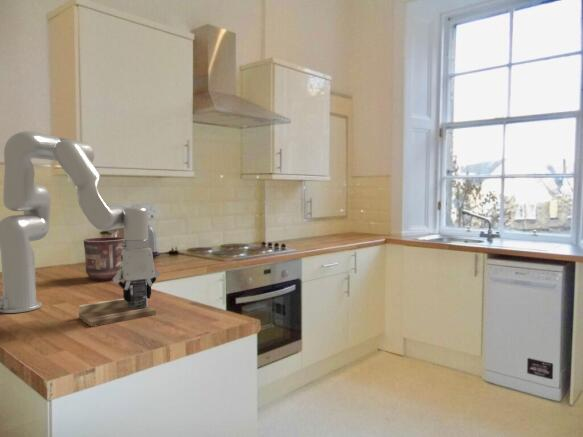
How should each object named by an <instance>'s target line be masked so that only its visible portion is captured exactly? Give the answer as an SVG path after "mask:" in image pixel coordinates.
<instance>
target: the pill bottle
mask: <svg viewBox="0 0 583 437" xmlns="http://www.w3.org/2000/svg"><path fill="white" fill-rule="evenodd" d="M129 290H130V302H128V307H129V308H133V309H137V308H143V307H146V306H148V298H147V281H146V279H145V280H137V281H131V282H130V285H129Z"/></svg>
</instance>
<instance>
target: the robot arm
mask: <svg viewBox="0 0 583 437" xmlns="http://www.w3.org/2000/svg"><path fill="white" fill-rule="evenodd" d="M3 150H4V151H3V159H4V176H3V194H2V196H3V197H2V198H3V199H2V200H3V205H4V207H5V208H6V209H7V210H10V211H13V212H23V214H15V215H10V216H6V217H4V218H2V219H1V220H0V259H1V260H0V261H1V262H0V264H1V274H2V276H1V277H2V278H1V281H2V295H1V296H0V313H2V314H17V313H25V312H30V311H34V310H37V309H39V308H41V307H42V306H43V304H42V302H41V301H39V300H37V287H36V286H37V285H36V284H37V283H36V265H35V264H36V263H35V262H36V261H35V254H34V250H33V248H32V246H31V243H30V242H34V241H35V242H36V241H40V240H42V239H43V238H45V237H46V236H47V235H48V232H49V229H50V219H51V218H50V217H51V204H52V203H51V194H50V192H49V190H48V189H47V188H46V186H44V185H42V184H41V183H36V182H35V168H34V165H33V163H32V159H37V160H47V161H48V160H49V161H54V162H58V164H59V165H60V167H61V168H62V170H63V171H64V173H65V174H66V175H67V177H68V178H69V180H70V182H72V184H73V186H74V187H75V189H76V198H77V202H78V205H79V207H80V210H81V211H82V213H83V214H84V216H85V217H86V218H87V220H88V222H89V223H90V224H91V225H92V226H93V227H94V228H95V229H96V230H98V231H99V230H100V231H103V232H104V231H105V232H106V231H112V230H118V229H119V230H120V229H123V237H124V240H123V242H122V243H120V247H124V249H123V250H122V254H121V261H120V271H119V272H118V273H117V274H116V275H115V277H114V278H113V280H112V281H113V282H114V283H116V284H117V285H118V286H119V287H120V288H121V289H122V290H123V292H122V293H123V295H122V297H123V298H124V299H125V301H127V302H130V290H129V285H130V282H131V281H137V280H145V279H146V281H147V300H149V299H151V295H152V286H153V285H154V283H155V282H156V281H157V279H158V278H159V277H160V276H161V273H160V272H159V271H158V270H157V269H156V268H155V261H154V254H153V252H152V251H153V250H152V248H151V247H149V212H148V209H147V208H146V207H143V206H128V207H127V206H121V205H113V206H112V205H109V206H107V204H106V203H105V201H104V200H103V199H102V197H101V195H100V194H99V191H98V184H99V182H100V181H101V178H102V177H101V174H100V172H99V171H98V170H97V168H96V167H95V165H94V164H93V162H94V160H95V152H94V150H93V148H92V146H91V145H90V144H88V143H87V142H85V141H81V140H74V139H70V138H65V137H62V136H61V137H60V136H56V135H52V134H47V133H42V132H38V131H37V132H36V131H20V132H17V133H15V134H13V135H12V136H10V137H9V138H8V139H7V141H6V143H5V144H4V149H3ZM120 279H121V280H120ZM122 280H123V281H122Z"/></svg>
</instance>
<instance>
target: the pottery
mask: <svg viewBox="0 0 583 437" xmlns="http://www.w3.org/2000/svg"><path fill="white" fill-rule="evenodd" d="M123 240H124V236H106V237H105V236H103V237H93V238H92V237H91V238H85V239H83V247H84V257H85V259H84V260H85V262H84V263H85V264H84V265H85V273H86V275H87V276H88V278H89V279H90V280H92V281H94V282H108V281H109V282H110V281H113V278H114V277H115V275H116V274H117V273H118V272H119V271H120V261H121V254H122V250H123V249H124V247H120V243H122V242H123Z"/></svg>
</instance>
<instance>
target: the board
mask: <svg viewBox="0 0 583 437" xmlns="http://www.w3.org/2000/svg"><path fill="white" fill-rule="evenodd" d="M155 315H157V310H156V308H155V309H154V308H153V307H151V306H149V305H147V306H146V307H143V308H137V309H133V308H129V307H128V302H127V301H125V299H124V297H123V298H117V299H112V300H104V301H100V302H99V301H97V302H92V303H86V304H81V305H80V304H79V305H78V318H79V320H81V319H82V320H83V321H82V320H81V321H82V322H83V323H85V322H86V323H87V324H88V325H87V324H86V323H85V324H86V325H87V326H89V325H90V326H94V327H96V326H95V325H99V326H104V325H109V324H114V322H115V323H119V321H120V322H124V321H130V320H134V319H140V318H145V317H150V316H155ZM108 323H109V324H108ZM103 324H104V325H103ZM90 326H89V327H90Z"/></svg>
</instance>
